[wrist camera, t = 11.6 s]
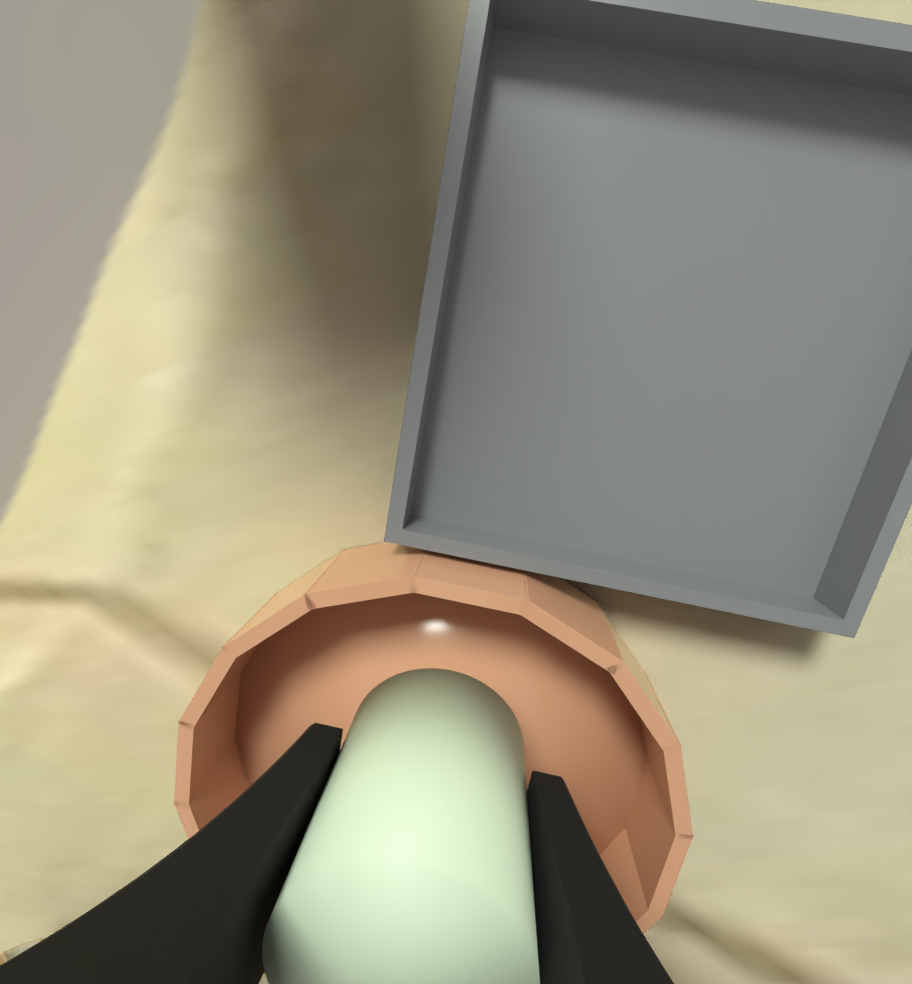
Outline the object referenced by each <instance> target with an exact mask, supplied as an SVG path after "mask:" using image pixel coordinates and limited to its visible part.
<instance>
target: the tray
mask: <svg viewBox="0 0 912 984" xmlns="http://www.w3.org/2000/svg"><path fill="white" fill-rule="evenodd" d="M911 504H912V25H908V24H902V23H895V22H889V21H883V20H876V19H870V18H864V17H857V16H851V15H845V14H838V13H832V12H826V11H819V10H813V9H807V8H800V7H794V6H788V5H781V4H775V3H769V2H762V1H756V0H469V4H468V11H467V17H466V23H465V30H464V36H463V42H462V49H461V55H460V62H459V68H458V74H457V81H456V87H455V93H454V100H453V106H452V112H451V119H450V125H449V131H448V138H447V144H446V151H445V157H444V163H443V170H442V176H441V182H440V189H439V195H438V201H437V208H436V214H435V220H434V227H433V233H432V239H431V246H430V252H429V259H428V265H427V271H426V278H425V284H424V290H423V297H422V303H421V309H420V316H419V322H418V328H417V335H416V341H415V348H414V354H413V360H412V367H411V373H410V379H409V386H408V392H407V398H406V405H405V411H404V417H403V424H402V430H401V436H400V443H399V449H398V456H397V462H396V468H395V475H394V481H393V487H392V494H391V500H390V506H389V513H388V519H387V525H386V532H385V538H384V542H389V543H394V544H399V545H404V546H409V547H413V548H418V549H423V550H428V551H433V552H438V553H443V554H447V555H452V556H457V557H462V558H467V559H472V560H477V561H481V562H486V563H491V564H496V565H501V566H506V567H511V568H515V569H520V570H525V571H530V572H535V573H540V574H545V575H549V576H554V577H559V578H564V579H569V580H574V581H579V582H583V583H588V584H593V585H598V586H603V587H608V588H613V589H617V590H622V591H627V592H632V593H637V594H642V595H647V596H651V597H656V598H661V599H666V600H671V601H676V602H681V603H685V604H690V605H695V606H700V607H705V608H710V609H715V610H719V611H724V612H729V613H734V614H739V615H744V616H749V617H753V618H758V619H763V620H768V621H773V622H778V623H783V624H787V625H792V626H797V627H802V628H807V629H812V630H817V631H821V632H826V633H831V634H836V635H841V636H846V637H851V638H854V637H855V635H856V633H857V630H858V628H859V626H860V623H861V621H862V619H863V616H864V614H865V612H866V609H867V607H868V605H869V602H870V600H871V598H872V595H873V593H874V591H875V588H876V586H877V584H878V581H879V579H880V577H881V574H882V572H883V570H884V567H885V565H886V563H887V560H888V558H889V556H890V553H891V551H892V549H893V546H894V544H895V542H896V539H897V537H898V535H899V532H900V530H901V528H902V525H903V523H904V521H905V518H906V516H907V514H908V511H909V509H910V507H911Z"/></svg>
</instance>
